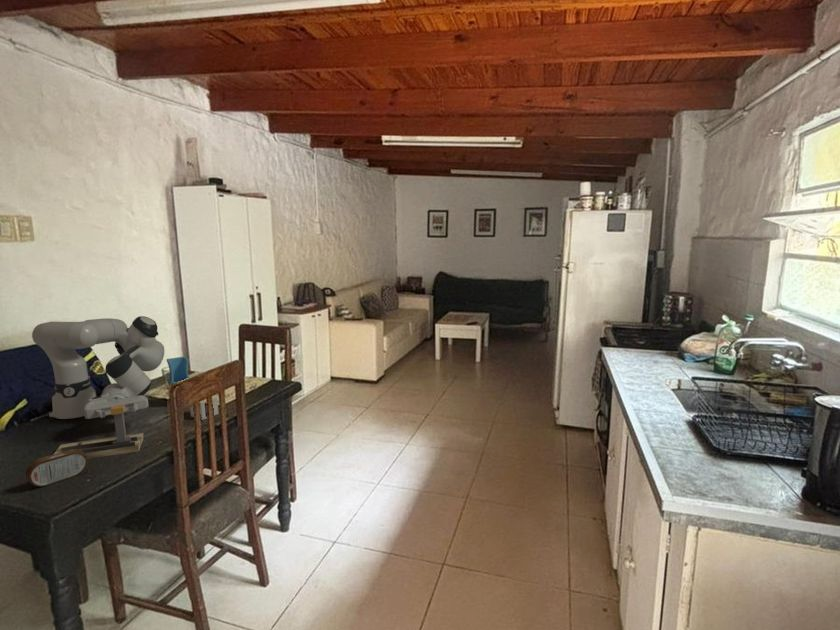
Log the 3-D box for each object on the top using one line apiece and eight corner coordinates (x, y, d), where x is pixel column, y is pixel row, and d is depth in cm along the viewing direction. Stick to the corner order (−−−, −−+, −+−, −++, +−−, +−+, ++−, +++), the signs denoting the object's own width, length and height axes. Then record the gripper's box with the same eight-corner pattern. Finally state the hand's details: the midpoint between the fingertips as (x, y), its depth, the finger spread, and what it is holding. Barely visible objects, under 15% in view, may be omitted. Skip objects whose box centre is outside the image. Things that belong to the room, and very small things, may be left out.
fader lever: (115, 443, 164) (110, 406, 162) (131, 441, 166) (127, 404, 164) (112, 447, 161) (108, 409, 158) (129, 445, 163) (125, 407, 160)
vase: (173, 407, 204) (168, 362, 201) (170, 402, 210) (165, 359, 207) (193, 403, 209) (189, 359, 206) (189, 398, 215) (185, 356, 212)
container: (219, 414, 196) (216, 383, 194) (202, 420, 190) (199, 389, 188) (207, 410, 200) (204, 381, 198) (190, 416, 194) (187, 386, 192)
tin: (87, 469, 151) (84, 444, 149) (90, 472, 149) (87, 447, 147) (27, 489, 139) (23, 462, 138) (30, 492, 137) (26, 465, 136)
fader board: (61, 449, 164) (60, 441, 164) (143, 437, 174) (142, 429, 173) (50, 465, 154) (48, 455, 153) (138, 451, 163) (137, 442, 162)
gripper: (147, 404, 189) (151, 414, 178) (85, 415, 178) (85, 427, 167) (145, 389, 188) (150, 398, 177) (83, 399, 177) (83, 410, 166)
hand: (118, 412), depth 172 cm, fingers open, 8 cm apart
